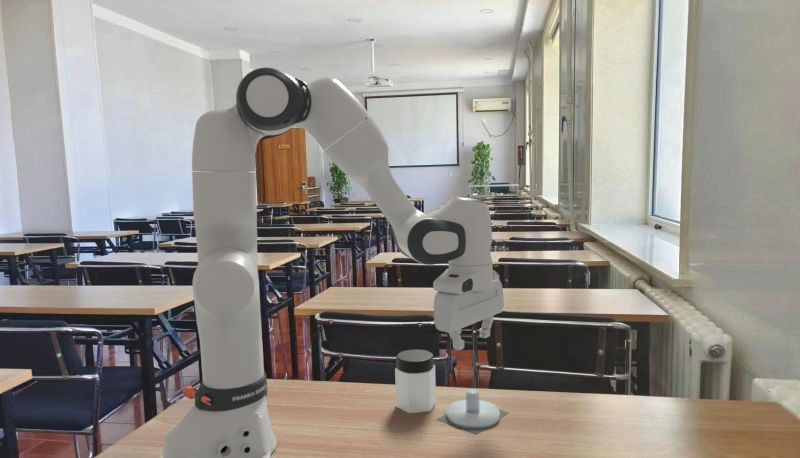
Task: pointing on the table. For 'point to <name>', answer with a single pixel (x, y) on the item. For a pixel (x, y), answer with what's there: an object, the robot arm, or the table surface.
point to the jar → (415, 381)
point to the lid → (473, 412)
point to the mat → (472, 430)
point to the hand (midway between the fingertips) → (472, 342)
